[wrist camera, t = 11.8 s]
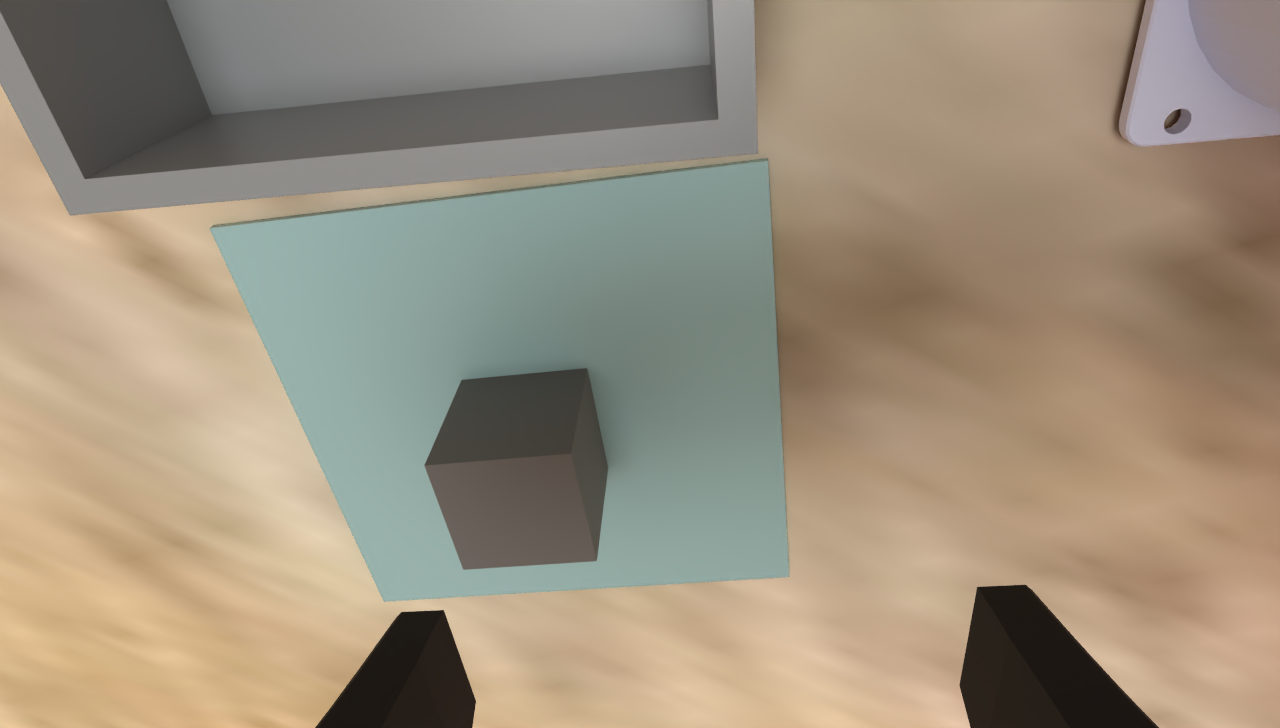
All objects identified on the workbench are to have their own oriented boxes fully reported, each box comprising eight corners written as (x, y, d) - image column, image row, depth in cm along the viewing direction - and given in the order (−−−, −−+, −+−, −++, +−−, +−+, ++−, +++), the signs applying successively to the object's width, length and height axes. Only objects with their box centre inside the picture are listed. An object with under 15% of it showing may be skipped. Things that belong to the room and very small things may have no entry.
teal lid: (764, 149, 18) (786, 222, 14) (786, 558, 25) (804, 676, 21) (225, 216, 19) (118, 296, 16) (391, 583, 27) (344, 697, 23)
